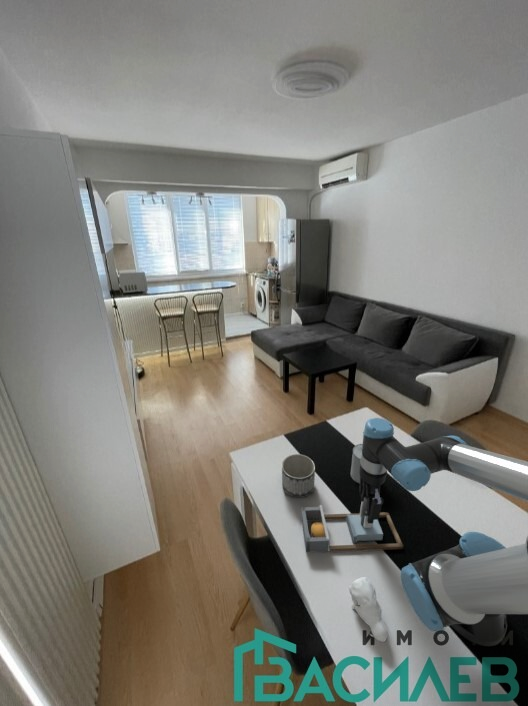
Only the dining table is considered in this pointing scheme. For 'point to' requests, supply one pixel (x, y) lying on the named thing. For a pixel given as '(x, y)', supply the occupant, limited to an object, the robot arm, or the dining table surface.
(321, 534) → the orange rounded piece
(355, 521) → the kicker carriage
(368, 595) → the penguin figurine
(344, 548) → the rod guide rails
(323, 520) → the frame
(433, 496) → the dining table surface
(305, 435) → the dining table surface
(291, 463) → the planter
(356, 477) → the grey cylinder
